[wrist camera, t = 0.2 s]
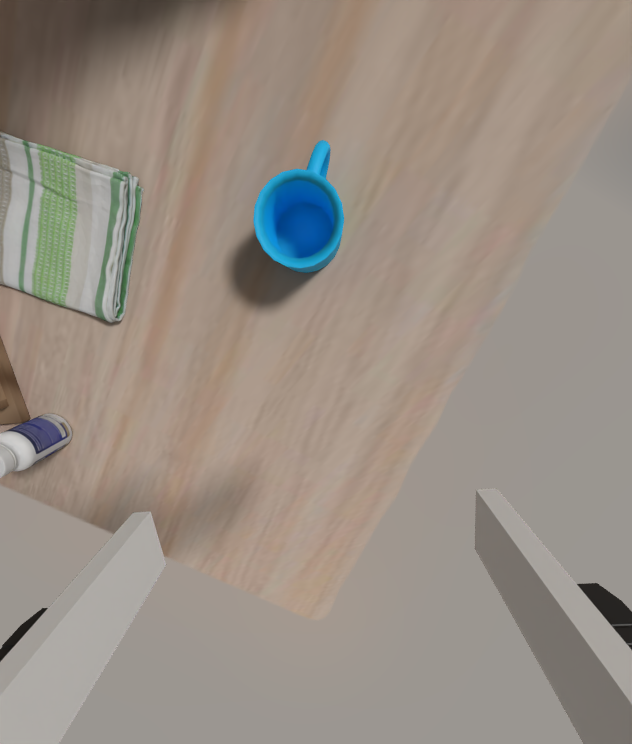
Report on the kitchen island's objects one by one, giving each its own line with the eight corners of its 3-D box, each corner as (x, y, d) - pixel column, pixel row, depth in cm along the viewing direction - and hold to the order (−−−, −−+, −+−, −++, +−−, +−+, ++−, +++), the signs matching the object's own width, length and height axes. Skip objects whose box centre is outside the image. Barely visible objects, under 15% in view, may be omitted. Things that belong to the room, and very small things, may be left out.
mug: (328, 281, 37) (328, 279, 29) (262, 260, 36) (244, 252, 29) (362, 172, 34) (371, 136, 26) (290, 148, 33) (277, 104, 26)
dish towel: (126, 324, 40) (106, 328, 36) (-52, 265, 39) (-88, 263, 35) (149, 182, 35) (130, 170, 32) (-51, 111, 34) (-92, 92, 31)
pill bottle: (39, 407, 43) (-34, 436, 34) (76, 420, 43) (13, 453, 35) (34, 439, 44) (-37, 475, 36) (70, 452, 44) (7, 491, 36)
